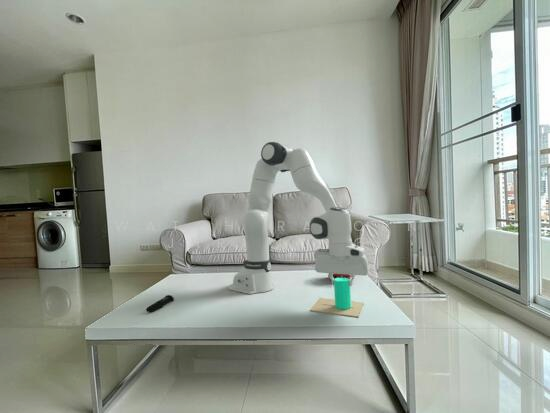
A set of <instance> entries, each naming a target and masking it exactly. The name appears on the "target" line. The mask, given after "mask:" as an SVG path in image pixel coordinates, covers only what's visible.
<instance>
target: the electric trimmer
mask: <svg viewBox="0 0 550 413" xmlns="http://www.w3.org/2000/svg"><path fill="white" fill-rule="evenodd" d="M174 300H175V298H174V296H173V295H170V294H168V295H165V296H164V297H163V298H161V299H159V300H158V301H155V302H154V303H152V304H150V305H149V306H147V307H146V308H145V309H146V312H147V313H148V312H151V313H152V312H154V311H157V310H159V309H162V308H163V306H165V305H167V304H168V303H170V302H174Z"/></svg>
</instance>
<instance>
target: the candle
mask: <svg viewBox="0 0 550 413" xmlns="http://www.w3.org/2000/svg"><path fill="white" fill-rule="evenodd" d="M335 280H336V281H335ZM350 280H351V278H350V279H347V278H335V279H334V285H333V288H334V290H333V291H334V299H335V307H336V308H339V309H349V308H350V307H351V301H352V297H351V286H349V281H350Z"/></svg>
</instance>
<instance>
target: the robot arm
mask: <svg viewBox="0 0 550 413" xmlns="http://www.w3.org/2000/svg"><path fill="white" fill-rule="evenodd" d="M278 172H281V173H286V172H290V175H291V178H292V181H293V183H294V185H295V187H296V188H297V190H299V191H301V192H302V193H306V194H309V195H311V196H313V197H315V198H317V199H318V200H319V201H320V203H321V204H322V206H323V208H324V210H325V212H324V213H322V214H321V215H317V216H315V217H312V219H311V220H310V222H309V232H310V235H311V236H312V237H313V238H314V239H316V240H326V239H328V248H318V249H316V250H315V251H314V258H315V266H314V268H315V269H314V270H315V272H317V273H318V274H319V273H320V274H328V275H329V277H330V279H329V280H330V281H331V285H333V286H334V278H333V276H332V275H333V274H348V275H350V277H351V278H350V281H349V286H350V287H352V286H353V282H354V279H355V277H356V276H363V277H364V276H368V275H369V273H370V266H369V260H368V257H367V255H365V253H366V252H365V250H366V249H365V248H364V247H362V246H358V245H355V244H353V239H352V235H351V234H352V230H353V229H352V228H353V227H352V218H351V214H350V212H349V210H348V209H347V208H344V207H340V205H339V204H338V202H337V199H336V198H335V196H334V193H333V192H332V190H331V189H330V187H329V186H328V184H327V183H326V182H325V181H324V180H323V178H322V176H321V175H320V174H319V172H318V170H317V167H316V165H315V163H314V161H313V159H312V157H311V155H310V153H309V152H308V151H307V150H306V149H305V148H302V147H299V148H295V149H293V148H292V147H290V146H287V145H284V144H281V143H279V142H276V141H270V142H269V141H268V142H266V143H265V144H264V145H263V146H262V149H261V152H260V159H258V160H257V162H256V164H255V167H254V170H253V174H252V179H251V184H250V189H249V195H248V196H249V198H248V199H249V200H248V208H247V212H246V213H245V214H244V216H243V218H242V219H243V220H242V221H243V222H242V223H243V232H244V238H245V247H246V248H245V249H246V259H245V260H244V261H242V265H244V266H243V267H242V269H240V270H239V271H238V272H237V273H235V275H234V277H233V280H232V284H230V285H229V286H228V290H230V291H234V292H239V293H243V294H248V295H254V294H258V293H264V292H265V293H266V292H270V291H271V290H273V289H274V287H275V286H274V283H273V279H272V272H271V269H272V265H271V258H270V246H269V245H270V244H269V243H270V242H269V234H268V232H269V230H268V223H269V219H270V213H271V206H272V199H273V193H274V188H275V183H276V182H275V181H276V176H277V174H278ZM329 277H328V278H329ZM335 281H336V280H335Z"/></svg>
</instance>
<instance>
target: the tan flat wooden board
mask: <svg viewBox="0 0 550 413" xmlns="http://www.w3.org/2000/svg"><path fill="white" fill-rule="evenodd" d="M364 304H365V303H364V302H361V301H352V300H351V307H350V308H349V309H339V308H336V307H335V298H333V299H331V298H326V297H325V298H323V297H319V299H318V300H317V301H316V302H314V304H313V305H312V306H311V308H310V309H309V312H315V313H322V314H329V315H330V314H331V315H337V316H345V317H351V318H352V317H354V318H359V316H361V315H360V314H361V312H362V309H363V307H364Z"/></svg>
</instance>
